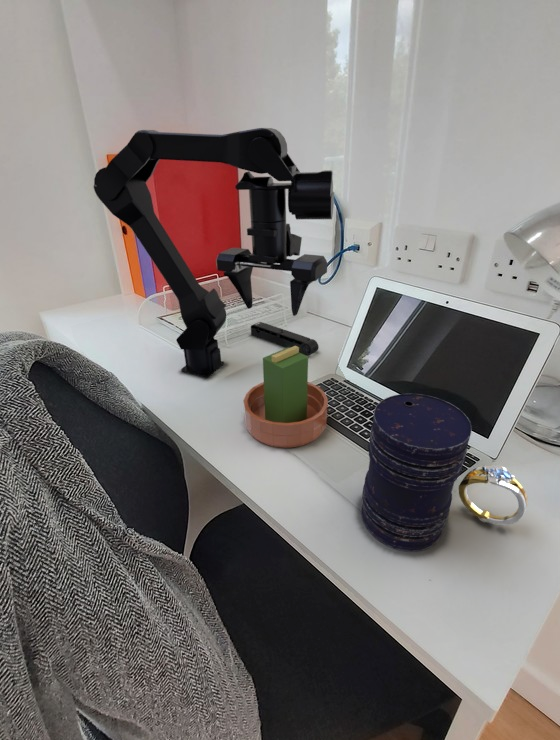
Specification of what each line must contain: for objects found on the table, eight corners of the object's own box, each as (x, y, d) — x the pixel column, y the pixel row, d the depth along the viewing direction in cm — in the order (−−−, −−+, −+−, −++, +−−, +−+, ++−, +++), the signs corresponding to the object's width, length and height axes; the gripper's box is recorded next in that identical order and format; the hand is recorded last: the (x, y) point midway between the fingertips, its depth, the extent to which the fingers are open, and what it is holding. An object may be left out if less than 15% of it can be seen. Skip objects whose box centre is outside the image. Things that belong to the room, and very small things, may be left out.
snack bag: (265, 420, 67) (262, 351, 61) (288, 407, 70) (288, 341, 63) (283, 432, 64) (282, 362, 58) (306, 419, 67) (308, 350, 61)
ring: (449, 511, 51) (463, 463, 47) (459, 497, 53) (474, 449, 49) (510, 544, 47) (531, 494, 43) (518, 526, 49) (540, 477, 45)
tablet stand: (318, 353, 88) (319, 340, 87) (311, 357, 86) (311, 345, 85) (257, 331, 98) (257, 320, 97) (250, 335, 97) (249, 323, 95)
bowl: (230, 434, 65) (228, 411, 63) (268, 393, 75) (267, 372, 73) (307, 458, 60) (308, 434, 57) (337, 411, 70) (339, 388, 67)
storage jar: (460, 544, 47) (494, 442, 39) (379, 559, 46) (397, 456, 38) (419, 482, 55) (440, 388, 47) (349, 493, 54) (359, 398, 46)
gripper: (340, 213, 68) (336, 303, 76) (244, 209, 76) (249, 291, 84) (314, 226, 60) (313, 325, 68) (209, 220, 68) (219, 310, 76)
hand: (271, 311), depth 74 cm, fingers open, 9 cm apart
